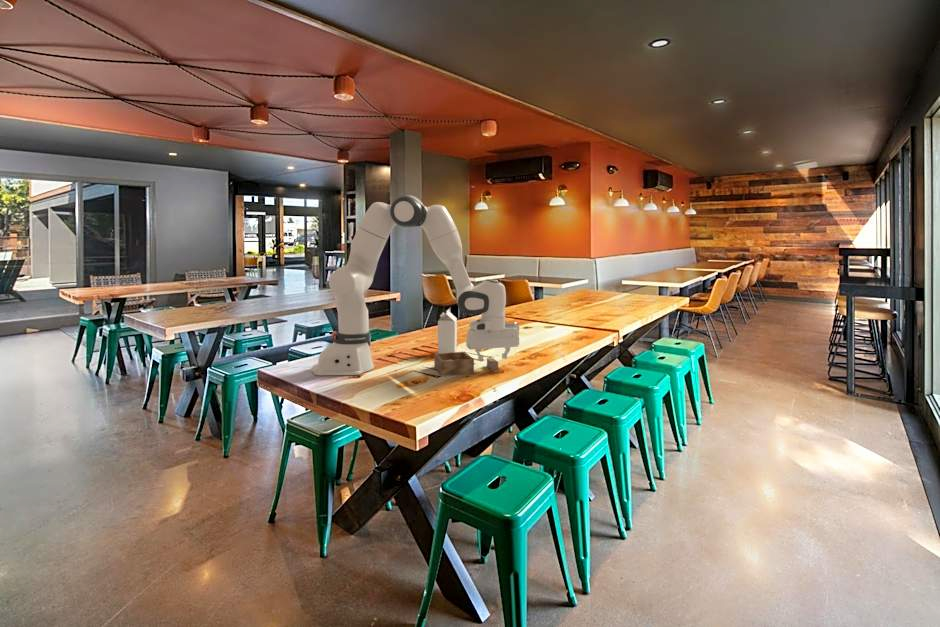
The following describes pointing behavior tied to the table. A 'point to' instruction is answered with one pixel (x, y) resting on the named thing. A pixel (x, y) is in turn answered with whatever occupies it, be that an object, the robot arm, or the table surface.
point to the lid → (492, 364)
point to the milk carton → (447, 333)
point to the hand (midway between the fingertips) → (492, 359)
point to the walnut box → (453, 363)
